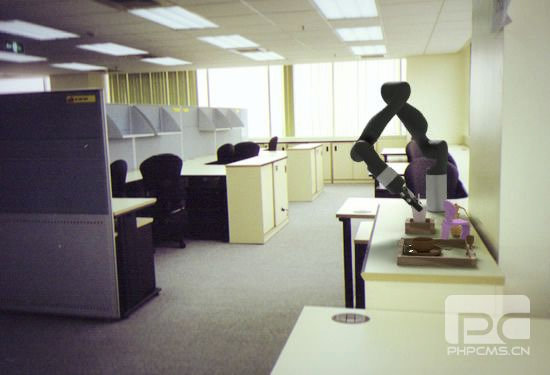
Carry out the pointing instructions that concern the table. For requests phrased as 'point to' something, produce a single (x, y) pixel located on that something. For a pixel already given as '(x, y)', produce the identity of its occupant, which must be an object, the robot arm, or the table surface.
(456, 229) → the figurine
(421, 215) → the smoothie
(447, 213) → the toy chair
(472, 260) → the tray rim
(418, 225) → the holder
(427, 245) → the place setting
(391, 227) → the table surface
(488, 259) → the table surface
